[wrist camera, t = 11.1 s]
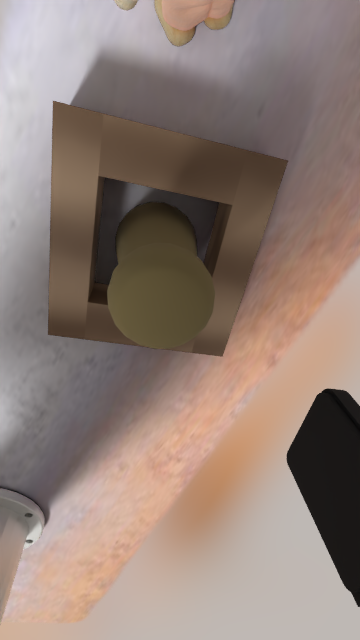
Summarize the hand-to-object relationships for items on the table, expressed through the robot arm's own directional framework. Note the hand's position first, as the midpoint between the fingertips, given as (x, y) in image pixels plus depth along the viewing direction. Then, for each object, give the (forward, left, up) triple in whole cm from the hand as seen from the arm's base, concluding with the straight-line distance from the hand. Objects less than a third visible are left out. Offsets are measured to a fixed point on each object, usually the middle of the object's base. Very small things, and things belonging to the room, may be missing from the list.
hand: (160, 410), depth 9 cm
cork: (0, 0, -17) cm, 17 cm away
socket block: (0, 0, -17) cm, 17 cm away
